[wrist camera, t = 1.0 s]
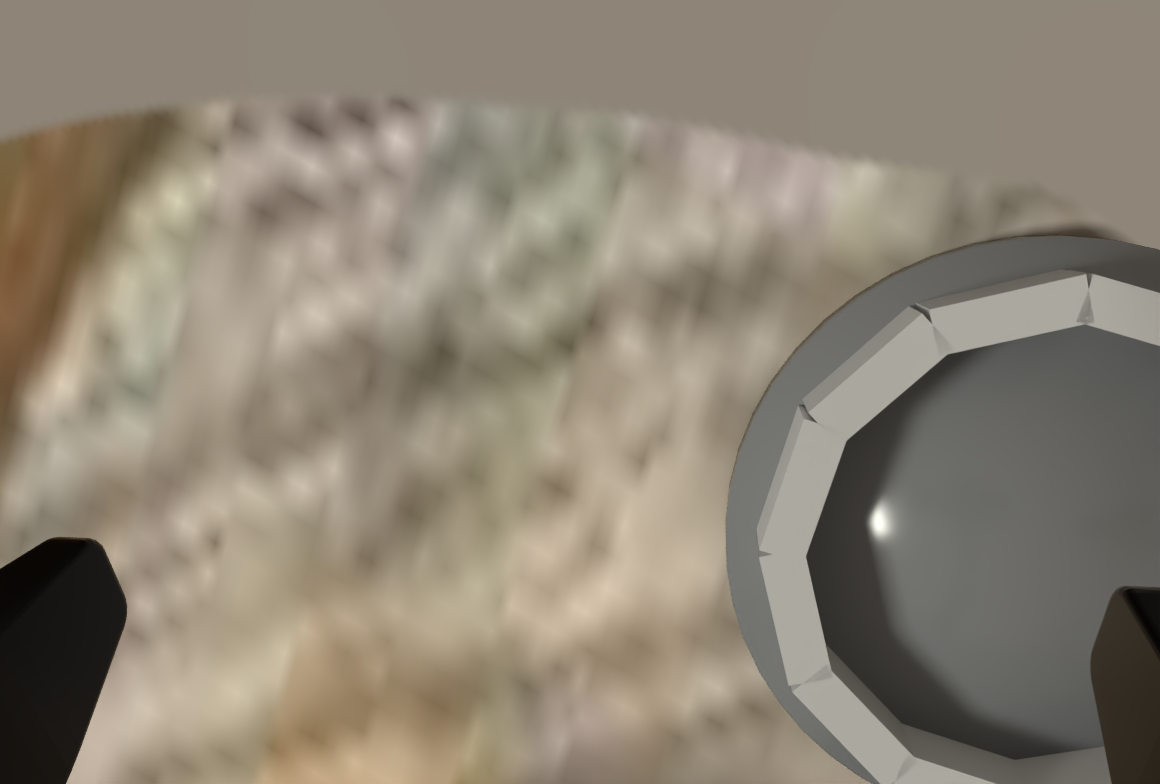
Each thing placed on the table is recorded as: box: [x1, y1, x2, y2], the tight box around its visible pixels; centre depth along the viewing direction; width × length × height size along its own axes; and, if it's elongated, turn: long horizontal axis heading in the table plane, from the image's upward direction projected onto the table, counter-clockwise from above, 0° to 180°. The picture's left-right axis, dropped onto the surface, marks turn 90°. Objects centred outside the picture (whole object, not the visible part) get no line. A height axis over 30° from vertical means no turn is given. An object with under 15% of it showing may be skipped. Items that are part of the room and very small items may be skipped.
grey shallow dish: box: [726, 235, 1160, 784], centre depth 23 cm, size 14×14×2 cm
